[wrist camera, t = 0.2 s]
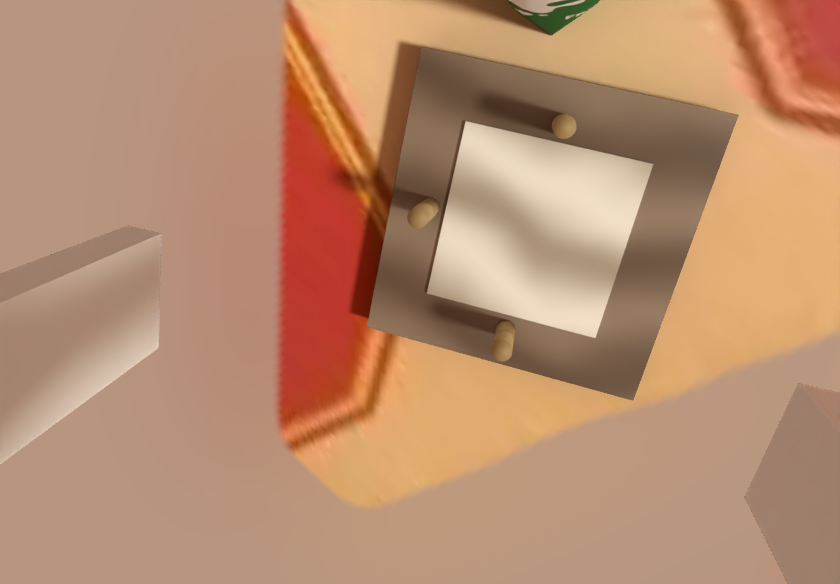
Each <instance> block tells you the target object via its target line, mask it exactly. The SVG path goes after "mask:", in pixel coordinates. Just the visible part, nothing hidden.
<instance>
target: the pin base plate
mask: <svg viewBox="0 0 840 584" xmlns="http://www.w3.org/2000/svg"><path fill="white" fill-rule="evenodd" d="M737 118H738V115H737V114H732V113H728V112H723V111H718V110H714V109H709V108H704V107H700V106H695V105H691V104H686V103H681V102H677V101H672V100H667V99H663V98H658V97H653V96H649V95H644V94H639V93H635V92H630V91H625V90H621V89H616V88H611V87H607V86H602V85H598V84H593V83H588V82H584V81H579V80H574V79H570V78H565V77H560V76H556V75H551V74H546V73H542V72H537V71H532V70H528V69H523V68H518V67H514V66H509V65H505V64H500V63H495V62H491V61H486V60H481V59H477V58H472V57H467V56H463V55H458V54H453V53H449V52H444V51H439V50H435V49H430V48H425V47H421V52H420V57H419V62H418V67H417V73H416V78H415V83H414V88H413V93H412V98H411V103H410V108H409V114H408V119H407V124H406V129H405V134H404V139H403V144H402V150H401V155H400V160H399V165H398V170H397V175H396V180H395V185H394V191H393V196H392V201H391V206H390V211H389V216H388V221H387V226H386V232H385V237H384V242H383V247H382V252H381V257H380V262H379V267H378V273H377V278H376V283H375V288H374V293H373V298H372V303H371V309H370V314H369V319H368V324H367V327H369V328H372V329H376V330H380V331H383V332H387V333H391V334H394V335H398V336H401V337H405V338H409V339H412V340H416V341H419V342H423V343H427V344H430V345H434V346H438V347H441V348H445V349H448V350H452V351H456V352H459V353H463V354H466V355H470V356H474V357H477V358H481V359H485V360H488V361H492V362H495V363H499V364H503V365H506V366H510V367H513V368H517V369H521V370H524V371H528V372H532V373H535V374H539V375H542V376H546V377H550V378H553V379H557V380H560V381H564V382H568V383H571V384H575V385H579V386H582V387H586V388H589V389H593V390H597V391H600V392H604V393H607V394H611V395H615V396H618V397H622V398H626V399H629V400H633V399H634V397H635V394H636V391H637V389H638V386H639V383H640V381H641V378H642V375H643V372H644V370H645V367H646V364H647V362H648V359H649V356H650V353H651V351H652V348H653V345H654V343H655V340H656V337H657V334H658V332H659V329H660V326H661V324H662V321H663V318H664V315H665V313H666V310H667V307H668V305H669V302H670V299H671V297H672V294H673V291H674V288H675V286H676V283H677V280H678V278H679V275H680V272H681V269H682V267H683V264H684V261H685V259H686V256H687V253H688V250H689V248H690V245H691V242H692V240H693V237H694V234H695V232H696V229H697V226H698V223H699V221H700V218H701V215H702V213H703V210H704V207H705V204H706V202H707V199H708V196H709V194H710V191H711V188H712V185H713V183H714V180H715V177H716V175H717V172H718V169H719V166H720V164H721V161H722V158H723V156H724V153H725V150H726V148H727V145H728V142H729V139H730V137H731V134H732V131H733V129H734V126H735V123H736V120H737Z"/></svg>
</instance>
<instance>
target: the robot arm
mask: <svg viewBox="0 0 840 584" xmlns="http://www.w3.org/2000/svg"><path fill="white" fill-rule="evenodd" d="M160 265H161V233H157V232H153V231H149V230H145V229H140V228H136V227H132V226H126V227H123V228H120V229H118V230H115V231H112V232H110V233H107V234H105V235H102V236H99V237H96V238H94V239H91V240H88V241H86V242H83V243H81V244H78V245H76V246H73V247H70V248H67V249H65V250H62V251H60V252H57V253H54V254H51V255H49V256H46V257H43V258H41V259H38V260H35V261H33V262H30V263H27V264H25V265H22V266H20V267H17V268H14V269H12V270H9V271H6V272H4V273H1V274H0V464H1V463H3V462H4V461H5V460H7V459H8V458H9V457H11V456H12V455H13V454H15V453H16V452H17V451H19V450H20V449H22V448H23V447H24V446H26V445H27V444H28V443H30V442H31V441H32V440H34V439H35V438H36V437H38V436H39V435H41V434H42V433H43V432H45V431H46V430H47V429H49V428H50V427H51V426H53V425H54V424H56V423H57V422H58V421H60V420H61V419H62V418H64V417H65V416H66V415H68V414H69V413H70V412H72V411H73V410H75V409H76V408H77V407H79V406H80V405H81V404H83V403H84V402H85V401H87V400H88V399H90V398H91V397H92V396H94V395H95V394H96V393H98V392H99V391H100V390H102V389H103V388H104V387H106V386H107V385H109V384H110V383H111V382H113V381H114V380H115V379H117V378H118V377H120V376H121V375H122V374H124V373H125V372H126V371H128V370H129V369H130V368H132V367H133V366H134V365H136V364H137V363H139V362H140V361H141V360H142V359H144V358H145V357H147V356H148V355H149V354H151V353H152V352H154V351H155V350H156V349H158V347H159V308H160V267H161V266H160ZM745 499H746V501H747V503H748V505H749V507H750V509H751V511H752V513H753V516H754V518H755V520H756V522H757V524H758V526H759V528H760V529H761V532H762V533H763V536H764V538H765V539H766V542H767V544H768V546H769V548H770V549H771V551H772V554H773V556H774V558H775V560H776V561H777V564H778V565H779V567H780V570H781V572H782V574H783V576H784V577H785V580H786V581H787V584H840V393H838V392H833V391H830V390H825V389H821V388H817V387H812V386H808V385H804V384H800V383H798V385H797V387H796V389H795V391H794V393H793V396H792V397H791V399H790V402H789V404H788V406H787V408H786V410H785V412H784V415H783V417H782V419H781V421H780V423H779V425H778V427H777V429H776V431H775V433H774V435H773V438H772V440H771V442H770V444H769V446H768V448H767V450H766V453H765V455H764V457H763V459H762V461H761V463H760V465H759V467H758V470H757V472H756V474H755V476H754V478H753V480H752V482H751V484H750V487H749V488H748V491H747V493H746V495H745Z"/></svg>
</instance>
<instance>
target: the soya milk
mask: <svg viewBox="0 0 840 584" xmlns="http://www.w3.org/2000/svg"><path fill="white" fill-rule="evenodd" d="M507 1H508V2H509V3H510V4H511V5H512V6H513V7H514V8H515V9H516V10H517V11H518V12H519V13H520V14H522V15H523V16H524V17H526V18H527V19H528V20H530V21H531V22H533V23H534V24H535V25H537V26H538V27H540V28H541V29H543V30H544V31H546V32H547V33H548V34H550V35H553V34H554V33H556V32H557V31H558V30H560V29H561V28H563V27H564V26H566V25H567V24H569V23H570V22H572V21H573V20H575V19H576V18H578V17H579V16H581V15H582V14H584V13H585V12H586V11H588V10H589V9H591V8H592V7H593V6H594V5H595V4H597V3H598V2H599V1H600V0H507Z"/></svg>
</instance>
